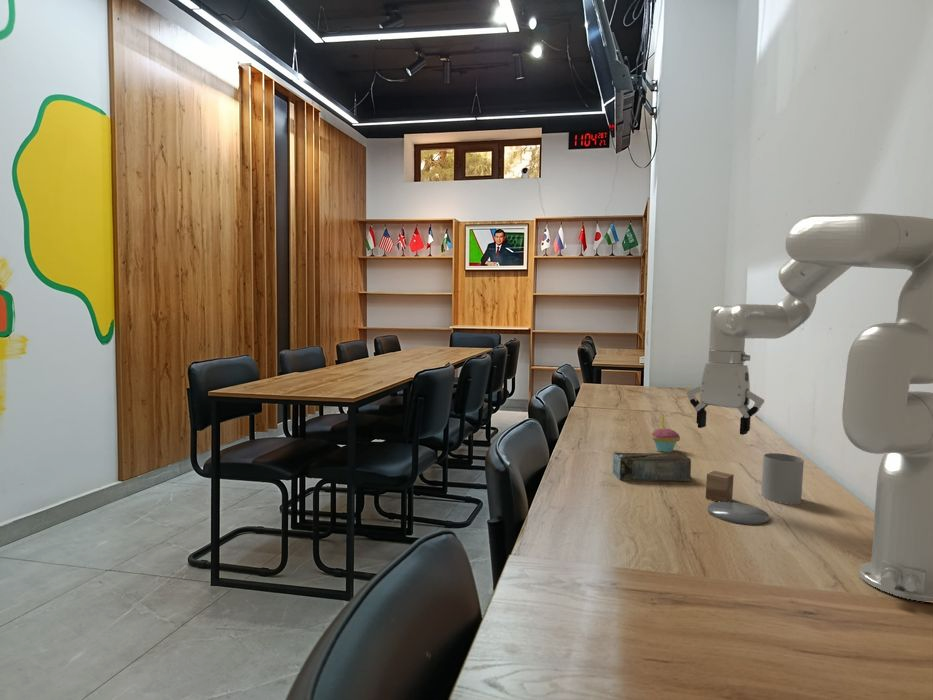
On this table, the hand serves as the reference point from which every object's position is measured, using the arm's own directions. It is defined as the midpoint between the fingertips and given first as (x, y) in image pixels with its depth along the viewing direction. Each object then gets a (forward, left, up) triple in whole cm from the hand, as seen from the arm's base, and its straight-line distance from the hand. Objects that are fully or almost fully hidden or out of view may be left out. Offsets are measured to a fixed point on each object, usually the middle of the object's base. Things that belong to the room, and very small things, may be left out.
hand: (722, 430), depth 133 cm
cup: (+12, -10, -17) cm, 23 cm away
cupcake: (+37, +31, -17) cm, 51 cm away
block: (0, 0, -16) cm, 16 cm away
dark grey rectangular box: (+4, +19, -17) cm, 26 cm away
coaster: (-8, -7, -16) cm, 20 cm away
